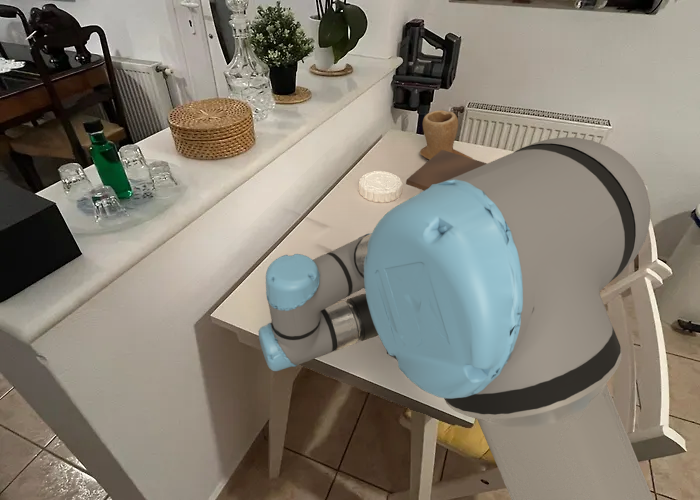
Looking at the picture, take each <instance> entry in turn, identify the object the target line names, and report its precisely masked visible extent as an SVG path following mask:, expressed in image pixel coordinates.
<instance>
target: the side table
mask: <svg viewBox="0 0 700 500" xmlns="http://www.w3.org/2000/svg"><path fill="white" fill-rule="evenodd" d="M471 158H472V157H471ZM471 158H468V157H464V156H461V155H458V154H455V153H451V152H448V151H445V150H441V151H440V152H438V153H437V154H436V155H435V156H434V157H433V158H431V159H430V160H429V159H428V161H426V162H425V163H424V164H423V165H422V166H420V167H419V168H418V169H417V170H416V171H415V172H414V173H412V174H411V175H410V176H409V177H408V178H406V179H405V185H407V186H410V187H413V188H415V189H418V190H420V191H424V190H426V189H428V188H429V187H430V186H431V185H432V184H438V183H441V182H444V181H447V180H449V179H452V178H454V177H457V176H459V175H462V174H464V173H466V172H469V171H471V170H474V169H476V168H478V167H481V166H483V165H485V164H488V162H484V161H480V160H477V159H474V158H473V159H471Z"/></svg>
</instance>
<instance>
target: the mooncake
mask: <svg viewBox="0 0 700 500" xmlns="http://www.w3.org/2000/svg"><path fill="white" fill-rule="evenodd" d="M358 180H359V181H358V192H359V195H360V196H361V197H362V198H363V199H365V200H367V201H369V202H373V203H380V204H384V203H390V202H393V201H394V202H395V201H396V200H397V199H399V198H400V196H401V195H402V194H403V193H402V192H403V181H402V179H401V178H400V177H399V176H398V175H397V174H394V173H392V172H388V171H385V170H384V171H383V170H373V171H370V172H366V173H365V174H362V175H361V177H359V179H358Z"/></svg>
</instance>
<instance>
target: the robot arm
mask: <svg viewBox="0 0 700 500" xmlns="http://www.w3.org/2000/svg"><path fill="white" fill-rule="evenodd" d="M650 222H651V203H650V198H649V194H648V189H647V186H646V184H645V182H644V180H643V178H642V177H641V175H640V174H639V172H638V171H637V169H636V168H635V166H633V164H632V163H631V162H630V161H628V159H627V158H626V157H625V156H624V155H622V154H621V153H619V152H618V151H616V150H615V149H613V148H611V147H609V145H605V144H603V143H600V142H597V141H595V140H592V139H587V138H586V139H585V138H581V137H575V136H574V137H572V136H571V137H570V136H569V137H566V136H565V137H564V136H563V137H555V138H550V139H549V138H547V139H544V140H540V141H537V142H533V143H530V144H529V145H526V146H524V147H521V148H518V149H517V150H515V151H513V152H512V153H509V154H506V155H504V156H502V157H499V158H496V159H495V160H492V161H490V162H487V164H485V165H483V166H481V167H478V168H476V169H474V170H471V171H469V172H466V173H464V174H462V175H459V176H457V177H454V178H452V179H449V180H447V181H444V182H441V183H438V184H432V185H431V186H430V187H429V188H428V189H426V190H422V191H420V192H419V193H417V194H416V195H414V196H412V197H410V198H408V199H407V200H405V201H403V202H402V203H400V204H398V205H396V206H395V207H393V208H392V209H390V210H389V211H387V213H385V214H384V215H383V216H382V217H381V218H380V220H379V221H378V223H376V225H375V227H374V228H373V230H372V232H370V233H367V234H364V235H362V236H359V237H357V238H356V239H354V240H352V241H350V242H348V243H346V244H343V245H342V246H339V247H337V248H336V249H333V250H332V251H329V252H327V253H324V254H322V255H320V256H317V257H315V258H313V259H312V258H311V257H309V256H307V255H305V254H301V253H294V254H293V255H289V254H284V255H281V256H279V257H277V258H275V259H274V260H273V261H271V263H270V264H269V266H268V267H267V269H266V273H265V295H266V300H267V303H268V309H269V313H270V319H271V322H269V323H267V324H266V325H263V326H261V327H260V328H258V329H259V330H258V339H259V343H260V348H261V350H262V354H263V356H264V360H265V362H266V365H267V367H268V368H269V369H270V370H271V371H273V372H278V371H282V370H285V369H288V368H292V367H293V368H295V367H297V366H299V365H301V364H304V363H306V362H309V361H312V360H315V359H317V358H320V357H322V356H325V355H328V354H331V353H332V352H336V351H339V350H341V349H344V348H347V347H350V346H352V345H354V344H357V343H358V341H360V342H364V341H367V340H369V339H372V338H375V337H377V336H378V337H379V339H380V341H381V343H382V345H383V347H384V349H385V350H386V353H387V352H388V353H389V354H388V355H389V356H390V355H391V357H392V356H396V358H397V359H396V358H395V359H396V360H397V362H398V363H397V366H398V368H399V369H398V370H400V371H401V372H402V374H404V375H405V377H407V379H408V380H409V381H411V382H412V383H413V384H415V386H417V387H418V388H419V389H420V390H422V391H424V392H426V393H428V394H430V395H433V396H434V397H438V398H441V399H443V400H444V402H445V403H446V404H447V406H448V407H450V408H451V410H454V411H455V412H457V413H459V414H462V415H464V416H465V417H470V418H473V419H475V420H477V422H478V424H479V427H480V429H481V432H482V433H483V436H484V440H485V441H486V443H487V446H488V448H489V451H490V452H491V455H492V457H493V459H494V462H495V465H496V467H497V469H498V471H499V474H500V476H501V478H502V481H503V483H504V486H505V488H506V490H507V493H508V495H509V498H510V499H511V500H654V496H653V495H652V492H651V490H650V487H649V485H648V482H647V480H646V477H645V474H644V472H643V469H642V467H641V466H640V465H641V464H640V462H639V460H638V458H637V455H636V453H635V451H634V448H633V445H632V443H631V440H630V438H629V435H628V433H627V430H626V428H625V426H624V423H623V421H622V418H621V416H620V414H619V411H618V409H617V406H616V403H615V401H614V397H613V395H612V393H611V392H610V389H609V386H608V383H609V381H610V379H612V377H613V376H614V374H615V373H616V372H617V370H618V369H619V366H620V365H621V363H622V360H623V359H622V357H623V349H622V347H621V343H620V341H619V339H618V336H617V334H616V331H615V328H614V326H613V324H612V321H611V318H610V316H609V314H608V311H607V308H606V306H605V304H604V301H603V298H602V296H601V291H602V290H603V289H604V288H605V287H606V286H608V285H609V284H610V283H611V282H613V281H614V280H615V279H616V278H617V277H618V276H620V275H621V274H622V273H623V272H624V271H625V270H626V269H627V268H628V267H629V266H630V265H631V263H633V261H634V260H635V259H636V258H637V256H638V254H639V252H640V251H641V249H642V248H643V245H644V244H645V242H646V238H647V236H648V233H649V228H650V224H651V223H650ZM363 289H364V293H361V294H359V295H355V296H352V297H350V296H351V295H353V294H355V293H357V292H359V291H361V290H363ZM347 297H349V298H347ZM346 298H347V299H346ZM344 299H346V301H345V300H344Z"/></svg>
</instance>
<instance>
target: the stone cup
mask: <svg viewBox="0 0 700 500" xmlns="http://www.w3.org/2000/svg"><path fill="white" fill-rule="evenodd" d="M458 119H459V118H458V117H457V115H456V114H455V112H453V111H446V110H443V109H439V110H434V111H431V112H430V111H429V112H428V113H426V114H425V115H424V117H423V119H422V130H423V135H424V138H425V141H426V146H424V147H422V148H421V149H420V151H419V154H420V155H421V156H422V157H424V158H426V159H427V160H428V161H429V160H430V159H431V158H433V157H434V156H435V155H436V154H437V153H438V152H440V151H441V150H445V151H448V152H451V153H455V154H458V155H461V156H464V157H468V158H471V159H474V158H473V157H471V156H469V155H467V154H465V153H463V152H460V151H459V150H456V149H454V144H455V140H456V137H457V135H458V130H459V120H458Z"/></svg>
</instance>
